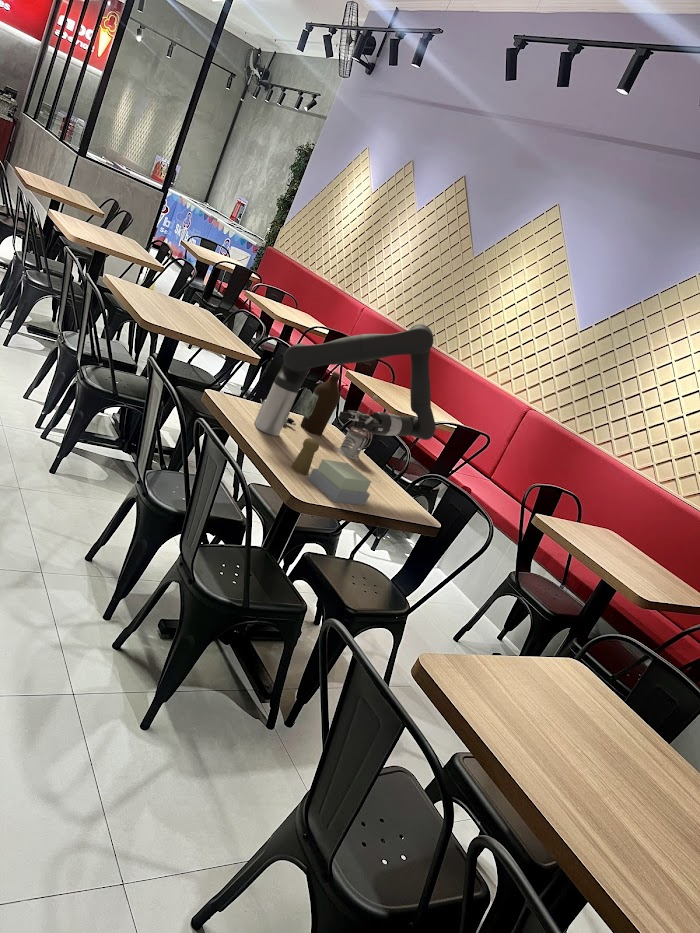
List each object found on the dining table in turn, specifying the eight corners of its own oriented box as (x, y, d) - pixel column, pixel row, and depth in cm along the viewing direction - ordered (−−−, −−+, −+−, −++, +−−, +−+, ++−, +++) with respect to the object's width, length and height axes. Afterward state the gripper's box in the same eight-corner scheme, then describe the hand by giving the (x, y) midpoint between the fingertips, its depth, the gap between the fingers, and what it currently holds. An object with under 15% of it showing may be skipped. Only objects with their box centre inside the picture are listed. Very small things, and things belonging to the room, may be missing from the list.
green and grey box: (307, 479, 220) (318, 457, 218) (338, 483, 230) (348, 462, 228) (334, 502, 211) (345, 479, 209) (364, 505, 221) (375, 483, 219)
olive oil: (320, 429, 284) (345, 374, 278) (325, 438, 275) (352, 381, 268) (296, 420, 280) (322, 364, 274) (301, 429, 271) (327, 371, 264)
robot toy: (294, 432, 268) (283, 414, 279) (299, 422, 266) (287, 405, 278) (266, 424, 261) (256, 406, 273) (271, 413, 260) (260, 396, 271)
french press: (349, 449, 276) (376, 392, 269) (367, 463, 269) (395, 405, 262) (332, 446, 269) (359, 388, 262) (350, 460, 262) (379, 401, 255)
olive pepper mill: (300, 466, 228) (314, 437, 225) (311, 475, 225) (325, 445, 222) (287, 465, 224) (301, 434, 221) (298, 474, 220) (312, 443, 217)
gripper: (376, 406, 240) (338, 401, 231) (400, 421, 230) (361, 416, 220) (370, 426, 243) (332, 422, 233) (393, 442, 232) (355, 438, 222)
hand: (346, 419), depth 226 cm, fingers open, 8 cm apart
